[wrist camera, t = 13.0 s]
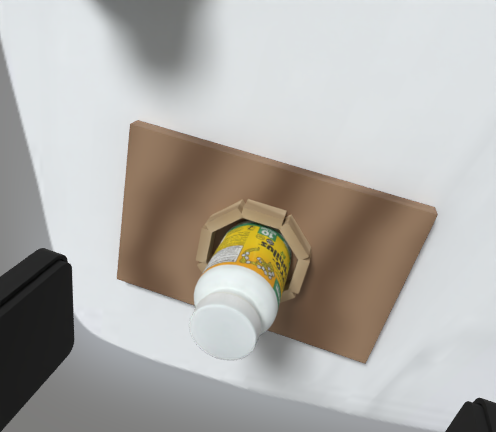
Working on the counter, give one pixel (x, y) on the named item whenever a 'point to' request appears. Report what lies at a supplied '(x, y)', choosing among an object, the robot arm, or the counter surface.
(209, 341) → the supplement bottle
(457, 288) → the counter surface
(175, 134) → the wooden board
